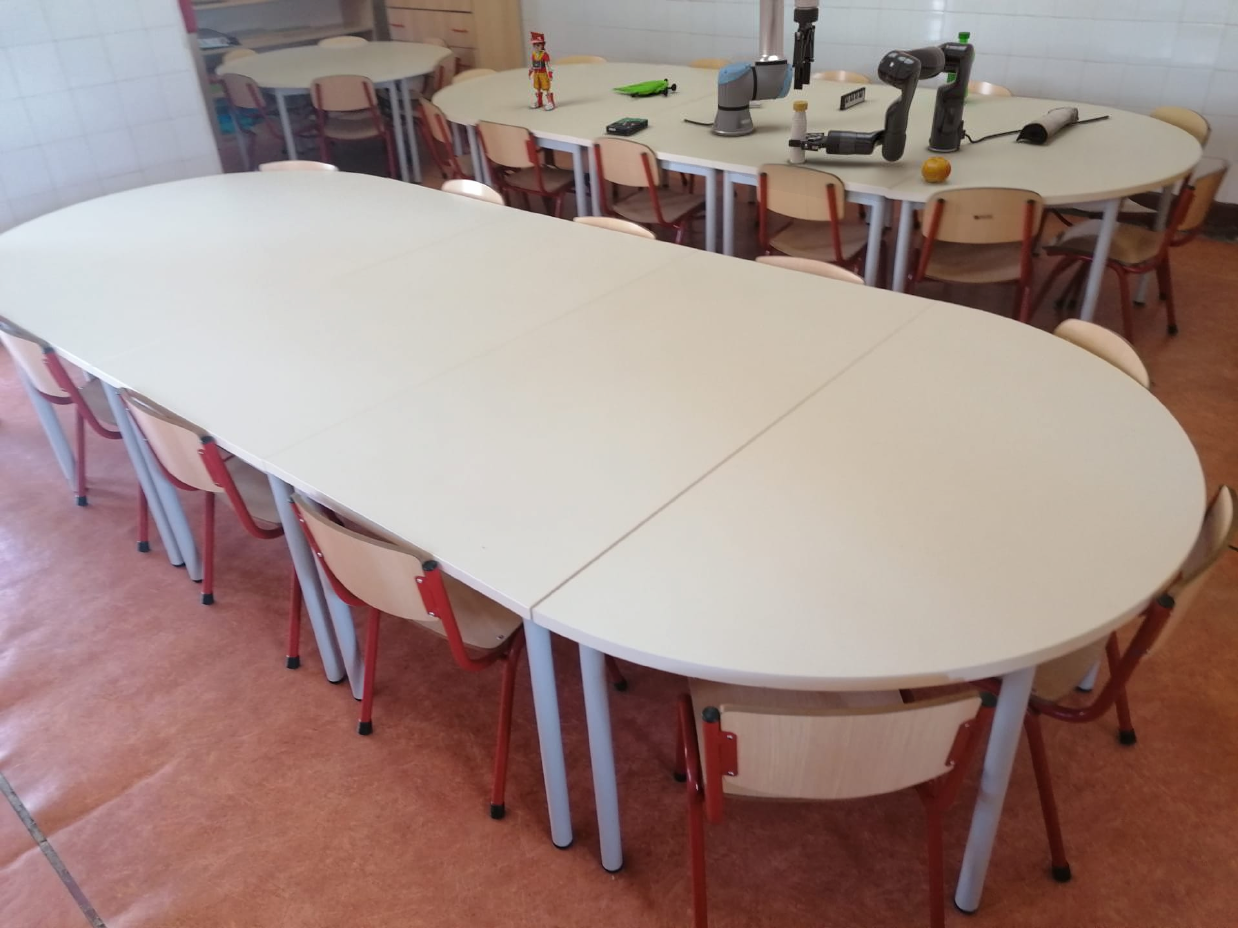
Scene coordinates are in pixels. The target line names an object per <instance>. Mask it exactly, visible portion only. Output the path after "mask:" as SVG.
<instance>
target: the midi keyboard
mask: <svg viewBox="0 0 1238 928" xmlns="http://www.w3.org/2000/svg"><path fill="white" fill-rule="evenodd" d="M866 90H867V89H866V87H865V86H863V87H860V88H857V89H855V90H852V91H850V92H848V93H845V94H843V95H841V96H840V102H839V110H840V111H841V110H845V109H847V108H849V107H851V106H854V105H856V104H858V103H861V102H863V101H865V99H866Z"/></svg>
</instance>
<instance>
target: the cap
mask: <svg viewBox="0 0 1238 928" xmlns="http://www.w3.org/2000/svg"><path fill="white" fill-rule="evenodd" d="M808 106H809V102H808V101H806V100H796V101H794V102H793V106H792V110H793V111H794V112H795V111H805V112H806V111H807V110H808V109H809V108H808Z"/></svg>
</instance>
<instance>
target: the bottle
mask: <svg viewBox="0 0 1238 928" xmlns="http://www.w3.org/2000/svg"><path fill="white" fill-rule="evenodd" d="M807 119H808V118H807V112H806V110H805V111H795V110H794V114H793V117H792V121H791V132H790V139H792V140H806V133H808V120H807ZM806 145H807V144H805V146H806ZM805 160H806V150H801V148H800V147H790V149H789V163H790V164H803V163H805Z"/></svg>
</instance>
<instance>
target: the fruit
mask: <svg viewBox="0 0 1238 928" xmlns="http://www.w3.org/2000/svg"><path fill="white" fill-rule="evenodd" d="M951 173H952V165H951V163H950V161H949V160H948V159H947V158H945V157H943V156H933V157H929V158H927V159H926V160H925V161H924V162H923V164H922V166H921V176H922V177H923V179H924V180H925V181H927V182H930V183H941V182H944V181H945V180H946V179H948V178H949V177H950V175H951Z"/></svg>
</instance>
